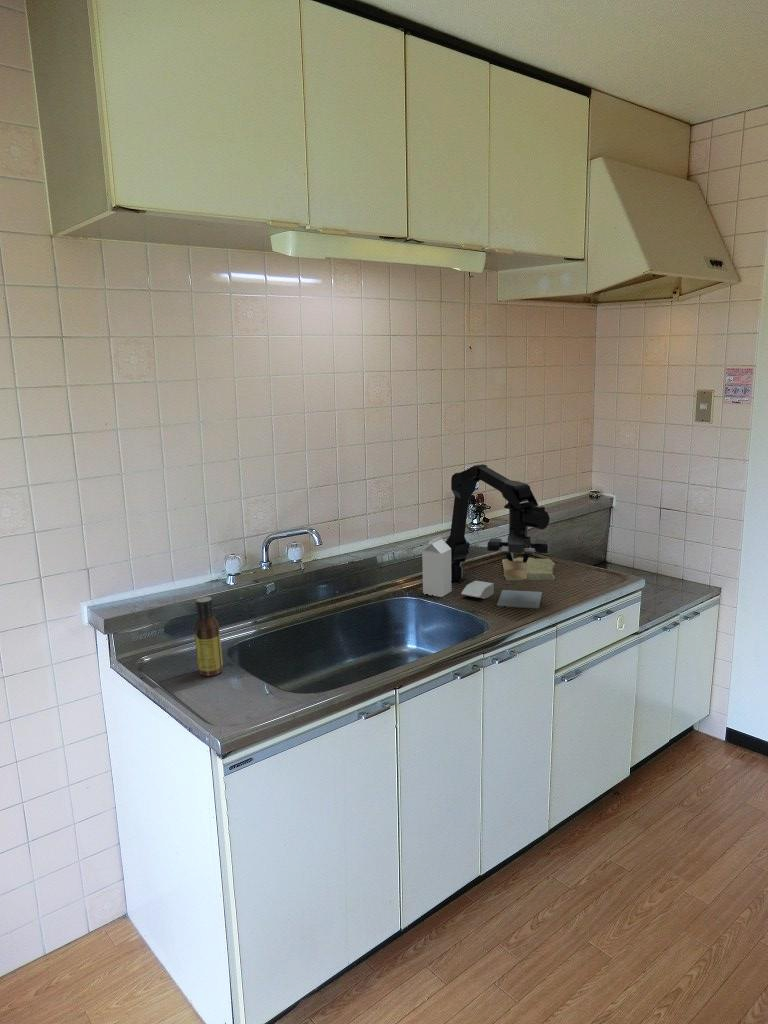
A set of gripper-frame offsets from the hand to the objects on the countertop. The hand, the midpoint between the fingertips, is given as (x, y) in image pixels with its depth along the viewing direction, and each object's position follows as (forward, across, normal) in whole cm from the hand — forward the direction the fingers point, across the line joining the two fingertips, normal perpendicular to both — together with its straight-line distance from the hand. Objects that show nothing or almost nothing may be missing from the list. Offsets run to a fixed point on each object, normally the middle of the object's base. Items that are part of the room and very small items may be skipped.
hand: (517, 571), depth 232 cm
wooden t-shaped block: (+1, 0, +2) cm, 2 cm away
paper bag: (+8, -12, +8) cm, 16 cm away
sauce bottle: (+10, -71, -70) cm, 100 cm away
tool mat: (+10, +1, +2) cm, 10 cm away
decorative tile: (+11, +1, +34) cm, 36 cm away
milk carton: (+10, -27, +4) cm, 29 cm away
